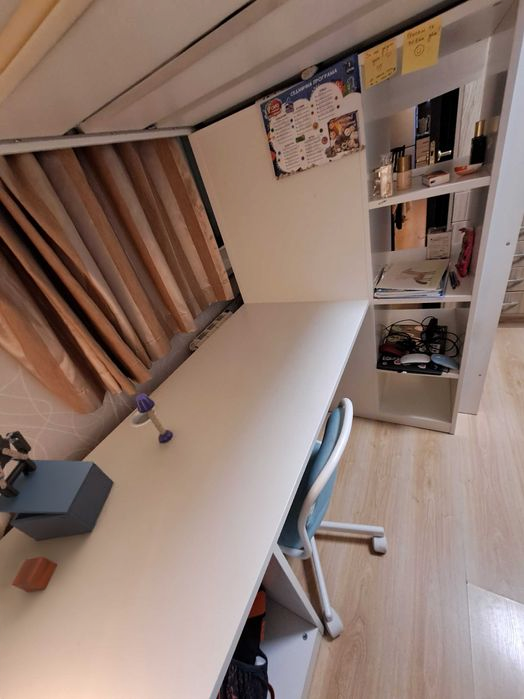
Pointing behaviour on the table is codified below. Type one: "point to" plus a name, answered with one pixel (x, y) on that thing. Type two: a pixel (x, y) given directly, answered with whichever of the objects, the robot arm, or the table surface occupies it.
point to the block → (34, 574)
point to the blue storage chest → (78, 516)
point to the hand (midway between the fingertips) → (24, 482)
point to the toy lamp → (152, 416)
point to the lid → (45, 486)
